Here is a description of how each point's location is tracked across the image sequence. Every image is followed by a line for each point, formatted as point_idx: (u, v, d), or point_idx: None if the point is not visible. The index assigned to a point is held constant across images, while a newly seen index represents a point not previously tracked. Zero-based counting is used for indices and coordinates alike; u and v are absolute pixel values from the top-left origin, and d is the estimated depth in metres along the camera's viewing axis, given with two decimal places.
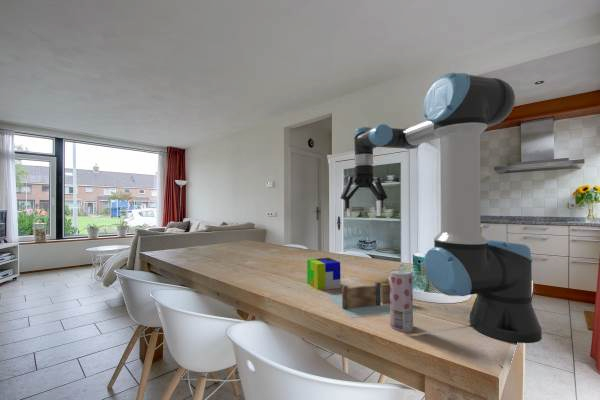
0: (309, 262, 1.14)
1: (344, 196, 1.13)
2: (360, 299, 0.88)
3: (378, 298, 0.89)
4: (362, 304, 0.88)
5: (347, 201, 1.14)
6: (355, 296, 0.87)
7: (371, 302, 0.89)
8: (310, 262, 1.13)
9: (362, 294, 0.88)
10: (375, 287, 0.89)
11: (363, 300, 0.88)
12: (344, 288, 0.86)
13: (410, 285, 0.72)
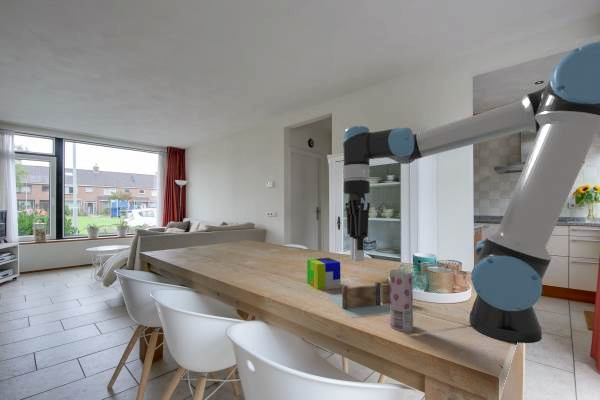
0: (309, 262, 1.14)
1: (347, 230, 0.86)
2: (360, 299, 0.88)
3: (378, 298, 0.89)
4: (362, 304, 0.88)
5: None
6: (355, 296, 0.87)
7: (371, 302, 0.89)
8: (310, 262, 1.13)
9: (362, 294, 0.88)
10: (375, 287, 0.89)
11: (363, 300, 0.88)
12: (344, 288, 0.86)
13: (410, 285, 0.72)
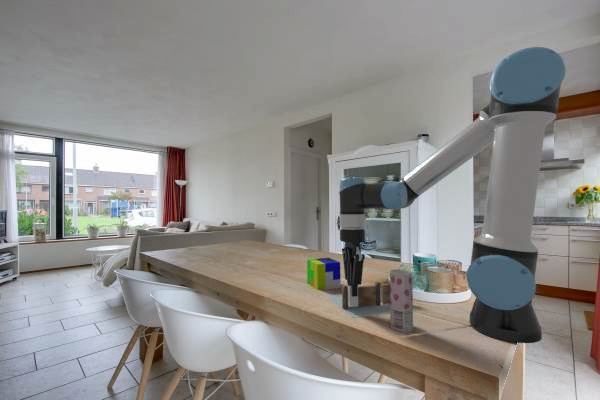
0: (309, 262, 1.14)
1: (345, 276, 0.88)
2: (360, 299, 0.88)
3: (378, 298, 0.89)
4: (362, 304, 0.88)
5: None
6: None
7: (371, 302, 0.89)
8: (310, 262, 1.13)
9: (362, 294, 0.88)
10: (375, 287, 0.89)
11: (363, 300, 0.88)
12: (344, 288, 0.86)
13: (410, 285, 0.72)
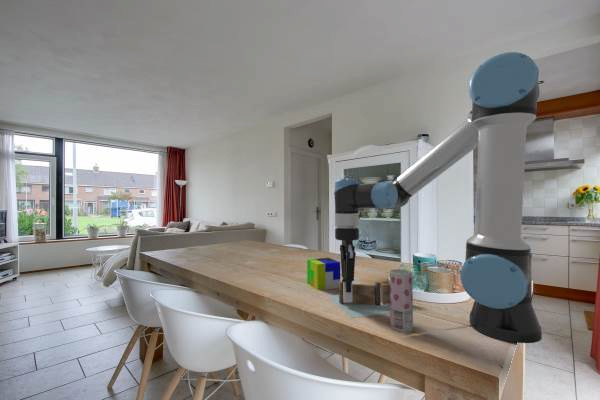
0: (309, 262, 1.14)
1: (342, 273, 0.91)
2: (357, 296, 0.90)
3: (377, 298, 0.89)
4: (359, 302, 0.90)
5: None
6: (352, 293, 0.90)
7: (369, 301, 0.90)
8: (310, 262, 1.13)
9: (360, 292, 0.90)
10: (374, 287, 0.89)
11: (360, 298, 0.90)
12: (340, 284, 0.91)
13: (410, 285, 0.72)
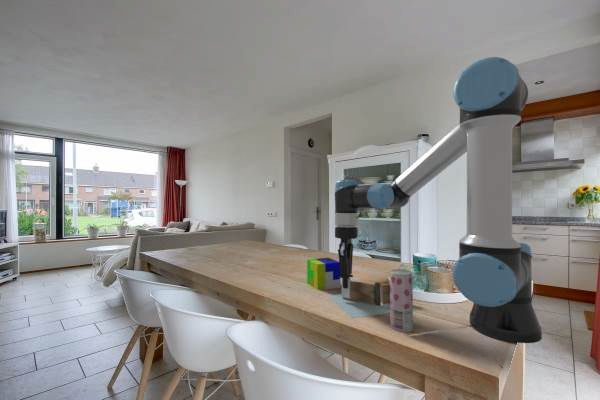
0: (309, 262, 1.14)
1: None
2: (358, 293, 0.93)
3: (376, 298, 0.89)
4: (359, 299, 0.92)
5: None
6: (352, 289, 0.94)
7: (369, 300, 0.91)
8: (310, 262, 1.13)
9: (360, 290, 0.92)
10: (373, 286, 0.90)
11: (360, 295, 0.92)
12: None
13: (410, 285, 0.72)
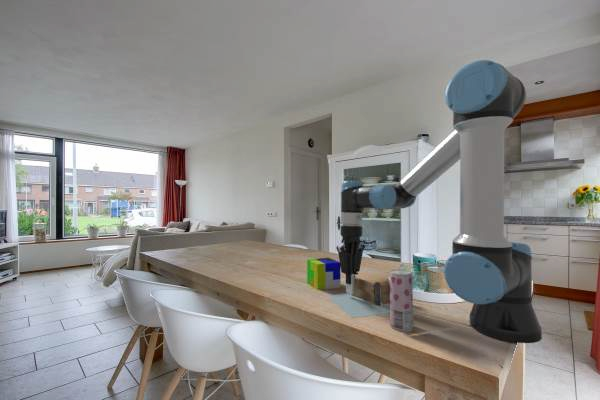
0: (309, 262, 1.14)
1: None
2: (362, 291, 0.95)
3: (375, 297, 0.90)
4: (363, 297, 0.94)
5: None
6: (358, 287, 0.97)
7: (370, 299, 0.92)
8: (310, 262, 1.13)
9: (363, 288, 0.94)
10: (373, 286, 0.91)
11: (364, 293, 0.94)
12: None
13: (410, 285, 0.72)
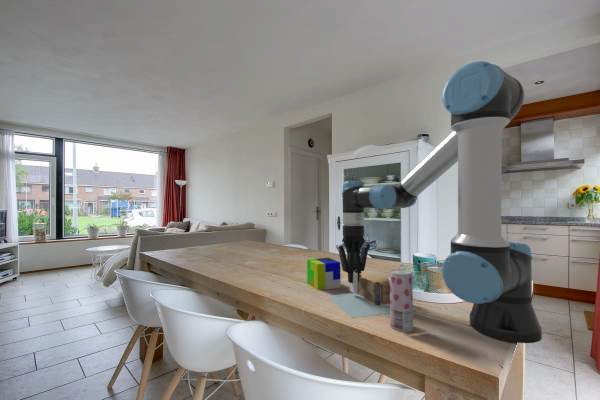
0: (309, 262, 1.14)
1: None
2: (365, 290, 0.96)
3: (375, 297, 0.90)
4: (366, 296, 0.95)
5: None
6: (362, 286, 0.97)
7: (371, 298, 0.92)
8: (310, 262, 1.13)
9: (366, 287, 0.95)
10: (374, 285, 0.91)
11: (366, 293, 0.95)
12: None
13: (410, 285, 0.72)
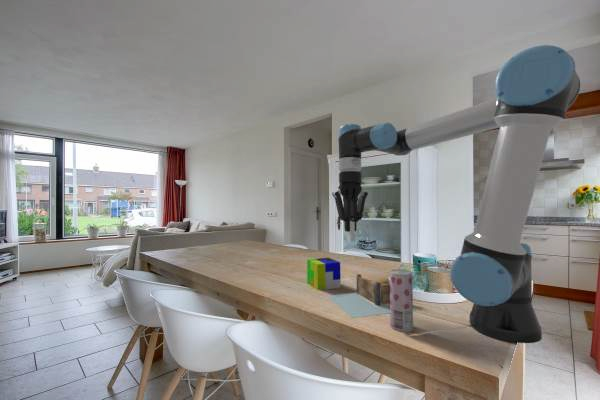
0: (309, 262, 1.14)
1: None
2: (365, 290, 0.96)
3: (375, 297, 0.90)
4: (366, 296, 0.95)
5: None
6: (362, 286, 0.97)
7: (371, 298, 0.92)
8: (310, 262, 1.13)
9: (366, 287, 0.95)
10: (374, 285, 0.91)
11: (366, 293, 0.95)
12: None
13: (410, 285, 0.72)
